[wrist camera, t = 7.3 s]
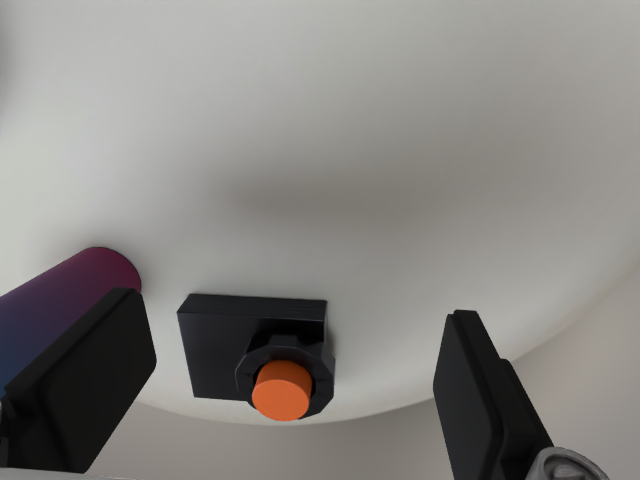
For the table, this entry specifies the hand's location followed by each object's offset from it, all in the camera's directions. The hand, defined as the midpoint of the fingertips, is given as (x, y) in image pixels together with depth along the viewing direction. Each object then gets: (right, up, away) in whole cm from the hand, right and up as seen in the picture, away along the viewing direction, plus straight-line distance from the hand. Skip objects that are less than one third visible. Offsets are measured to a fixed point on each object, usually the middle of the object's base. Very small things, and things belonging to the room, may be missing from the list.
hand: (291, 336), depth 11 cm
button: (-1, -6, +13) cm, 15 cm away
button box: (-4, -5, +17) cm, 18 cm away
